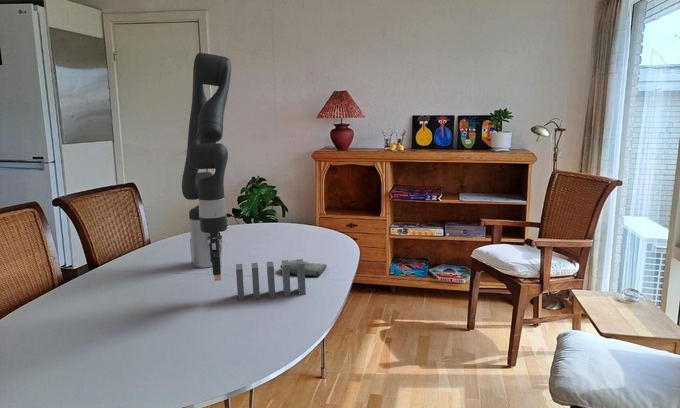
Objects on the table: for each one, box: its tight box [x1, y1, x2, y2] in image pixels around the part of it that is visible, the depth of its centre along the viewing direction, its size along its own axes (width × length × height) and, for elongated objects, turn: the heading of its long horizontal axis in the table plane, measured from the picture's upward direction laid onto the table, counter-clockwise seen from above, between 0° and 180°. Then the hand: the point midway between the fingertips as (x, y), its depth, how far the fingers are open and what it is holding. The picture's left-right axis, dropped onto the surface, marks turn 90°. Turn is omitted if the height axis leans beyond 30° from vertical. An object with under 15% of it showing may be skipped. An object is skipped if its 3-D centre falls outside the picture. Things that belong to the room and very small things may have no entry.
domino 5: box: [281, 259, 292, 297], centre depth 150 cm, size 2×5×10 cm, turn 11°
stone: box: [280, 259, 328, 278], centre depth 170 cm, size 11×4×15 cm
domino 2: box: [235, 263, 245, 301], centre depth 148 cm, size 2×5×10 cm, turn 11°
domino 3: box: [251, 262, 261, 300], centre depth 149 cm, size 2×5×10 cm, turn 11°
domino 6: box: [296, 258, 307, 296], centre depth 151 cm, size 2×5×10 cm, turn 11°
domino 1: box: [213, 255, 223, 282], centre depth 145 cm, size 2×5×10 cm, turn 11°
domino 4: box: [266, 261, 276, 299], centre depth 149 cm, size 2×5×10 cm, turn 11°
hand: (217, 271), depth 146 cm, fingers closed on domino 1, 5 cm apart
